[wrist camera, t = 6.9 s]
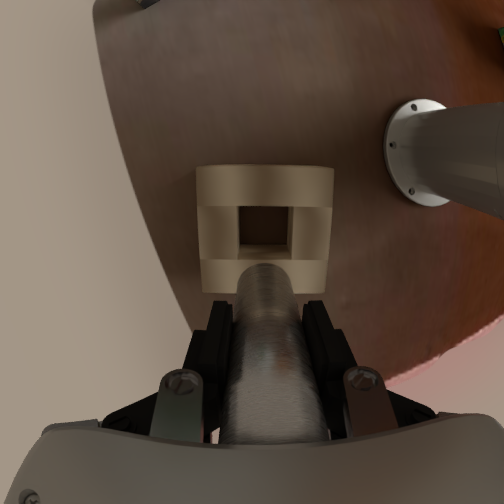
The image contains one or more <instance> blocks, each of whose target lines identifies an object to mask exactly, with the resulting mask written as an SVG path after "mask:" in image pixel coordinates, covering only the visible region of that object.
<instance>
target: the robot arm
mask: <svg viewBox="0 0 504 504" xmlns="http://www.w3.org/2000/svg"><path fill="white" fill-rule="evenodd" d="M411 108H412V109H411ZM390 144H391V147H390ZM383 150H384V159H385V163H386V167H387V170H388V172H389V175H390V177H391V179H392V181H393V182H394V184H395V186H396V187H397V188H398V189H399V191H400V192H401V193H402V194H403V195H404V196H406V197H407V198H408V199H409V200H411V201H413V202H415V203H417V204H420V205H423V206H430V207H435V206H440V205H443V204H445V203H447V202H449V201H450V200H451V201H454V202H457V203H460V204H463V205H465V206H468V207H471V208H473V209H476V210H479V211H481V212H484V213H487V214H489V215H492V216H494V217H497V218H499V219H501V220H504V102H498V103H486V104H476V105H468V106H460V107H452V108H446V107H444V106H443V105H441V104H440V103H438V102H435V101H433V100H429V99H415V100H411V101H408V102H406V103H404V104H402V105H401V106H400V107H398V108H397V109H396V110H395V111H394V113H393V114H392V116H391V117H390V119H389V121H388V123H387V126H386V129H385V134H384V143H383ZM302 326H303V330H304V334H305V337H306V341H307V345H308V349H309V353H310V357H311V361H312V365H313V370H314V374H315V378H316V382H317V386H318V390H319V394H320V399H321V403H322V407H323V412H324V416H325V420H326V425H327V429H328V434H329V438H330V441H321V442H312V443H299V444H282V445H229V444H212V432H213V431H214V430H216V429H217V428H219V427H220V423H221V414H222V405H223V397H224V391H225V387H226V378H227V370H228V361H229V352H230V344H231V335H232V327H233V310H232V304H228V303H227V301H214V302H213V306H212V310H211V314H210V318H209V322H208V326H207V329H206V330H194V332H193V335H192V338H191V342H190V345H189V348H188V351H187V355H186V358H185V361H184V364H183V367H182V369H176V370H173V371H171V372H169V373H167V374H166V375H165V376H164V377H163V378H162V380H161V382H160V386H159V391H158V392H156V393H154V394H152V395H150V396H148V397H146V398H144V399H142V400H140V401H138V402H135V403H133V404H131V405H128V406H126V407H124V408H121V409H119V410H117V411H115V412H112V413H111V414H109V415H107V416H106V418H104V420H103V421H100V422H98V420H97V419H92V420H85V421H76V422H68V423H55V424H51V425H49V426H47V427H46V428H45V429H44V430H43V432H42V435H41V437H40V438H39V440H37V442H36V443H35V444H34V446H33V447H32V448H31V450H30V451H29V453H28V454H27V456H26V458H25V459H24V461H23V463H22V465H21V467H20V469H19V471H18V472H17V474H16V477H15V478H14V481H13V483H12V485H11V488H10V490H9V492H8V495H7V497H6V500H5V502H4V504H504V428H503V427H502V426H501V425H500V424H499V422H497V421H496V420H495V419H494V418H492V417H490V416H488V415H484V414H478V413H473V414H472V413H470V414H469V413H468V414H467V413H465V414H457V413H446V412H439V413H438V414H435V413H434V411H433V410H432V409H431V408H429V407H427V406H425V405H423V404H420V403H418V402H415V401H413V400H410V399H408V398H406V397H403V396H401V395H398V394H396V393H394V392H391V391H389V390H387V389H386V387H385V384H384V381H383V378H382V377H381V375H380V374H379V373H378V372H377V371H376V370H374V369H372V368H370V367H366V366H358V365H357V363H356V361H355V358H354V356H353V354H352V351H351V349H350V347H349V345H348V342H347V340H346V338H345V336H344V333H343V331H342V330H341V329H334V328H333V325H332V323H331V320H330V318H329V316H328V313H327V311H326V309H325V306H324V304H323V302H322V300H319V301H309V302H308V304H304V306H303V315H302Z"/></svg>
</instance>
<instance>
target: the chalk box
mask: <svg viewBox="0 0 504 504" xmlns="http://www.w3.org/2000/svg"><path fill="white" fill-rule="evenodd" d="M498 31H499V34H500V37H501V40H502V43H503V46H504V27H502V28H498Z"/></svg>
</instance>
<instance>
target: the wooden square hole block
mask: <svg viewBox="0 0 504 504" xmlns="http://www.w3.org/2000/svg"><path fill="white" fill-rule="evenodd" d="M333 187H334V169H333V168H328V167H324V166H307V165H278V164H222V165H203V166H198V167H196V192H197V217H198V236H199V253H200V268H201V281H202V293H236V290H237V283H238V280H239V278H240V276H241V274H242V273H243V272H244V271H245V270H246V269H247V268H249V267H250V266H253V265H255V264H259V263H270V264H274V265H277V266H279V267H280V268H282V269H283V270H284V271H285V272H286V273H287V274H288V276H289V278H290V281H291V284H292V288H293V291H294V294H295V293H324V291H325V283H326V274H327V265H328V255H329V245H330V233H331V220H332V205H333ZM240 206H288V225H287V245H252V244H240Z"/></svg>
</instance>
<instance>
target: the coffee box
mask: <svg viewBox="0 0 504 504" xmlns="http://www.w3.org/2000/svg"><path fill="white" fill-rule="evenodd" d="M136 1H137V2H138V3H139V4H140V5H141V6H142V7H143V8H144V9H146V8H147V7H149V6H150V5H152V4H154V3H156V2H157V1H159V0H136Z"/></svg>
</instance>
